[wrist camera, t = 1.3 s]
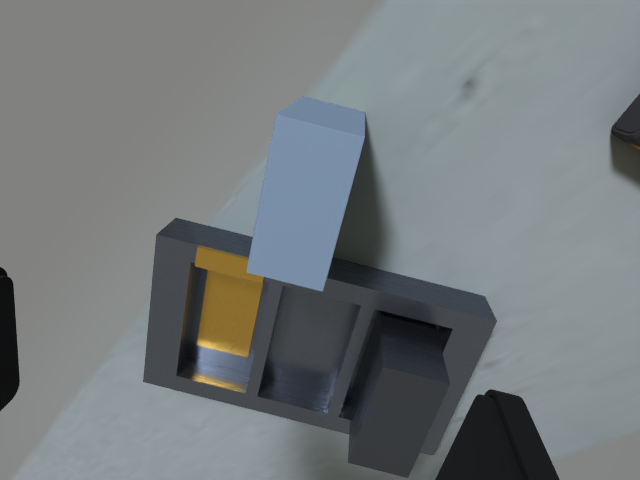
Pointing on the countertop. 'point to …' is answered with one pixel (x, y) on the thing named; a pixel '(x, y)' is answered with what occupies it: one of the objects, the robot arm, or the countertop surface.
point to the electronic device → (629, 125)
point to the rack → (314, 344)
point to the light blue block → (306, 191)
